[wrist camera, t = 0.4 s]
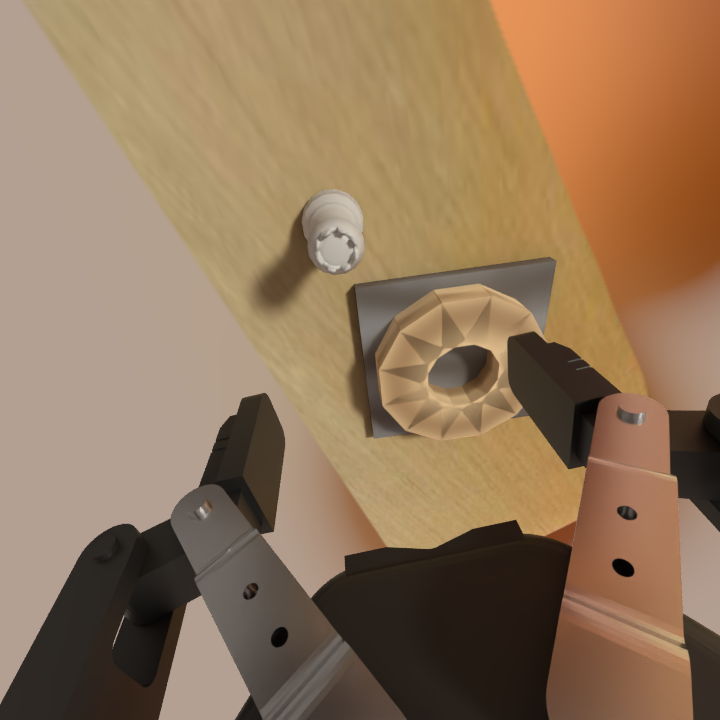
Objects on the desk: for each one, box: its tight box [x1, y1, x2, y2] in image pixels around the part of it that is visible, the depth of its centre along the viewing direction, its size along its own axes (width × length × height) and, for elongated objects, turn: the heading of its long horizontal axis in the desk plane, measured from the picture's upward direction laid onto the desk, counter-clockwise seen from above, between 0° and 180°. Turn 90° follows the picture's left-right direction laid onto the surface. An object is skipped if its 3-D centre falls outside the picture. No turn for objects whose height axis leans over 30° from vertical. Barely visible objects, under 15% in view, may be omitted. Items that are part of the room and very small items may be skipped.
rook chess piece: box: [301, 189, 365, 275], centre depth 24 cm, size 4×4×8 cm
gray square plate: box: [354, 257, 556, 441], centre depth 33 cm, size 16×16×4 cm
